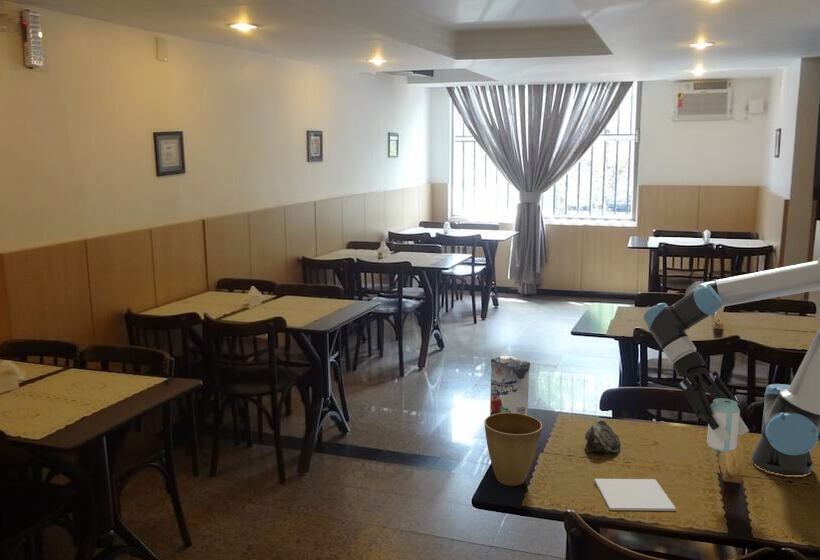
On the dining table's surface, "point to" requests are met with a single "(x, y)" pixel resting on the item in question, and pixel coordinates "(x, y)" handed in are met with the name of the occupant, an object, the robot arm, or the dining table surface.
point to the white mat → (634, 494)
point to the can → (725, 424)
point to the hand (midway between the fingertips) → (735, 436)
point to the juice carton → (509, 385)
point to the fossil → (602, 438)
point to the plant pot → (512, 445)
